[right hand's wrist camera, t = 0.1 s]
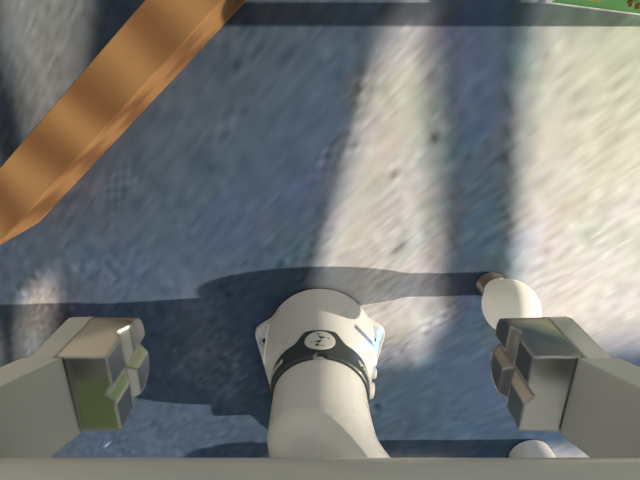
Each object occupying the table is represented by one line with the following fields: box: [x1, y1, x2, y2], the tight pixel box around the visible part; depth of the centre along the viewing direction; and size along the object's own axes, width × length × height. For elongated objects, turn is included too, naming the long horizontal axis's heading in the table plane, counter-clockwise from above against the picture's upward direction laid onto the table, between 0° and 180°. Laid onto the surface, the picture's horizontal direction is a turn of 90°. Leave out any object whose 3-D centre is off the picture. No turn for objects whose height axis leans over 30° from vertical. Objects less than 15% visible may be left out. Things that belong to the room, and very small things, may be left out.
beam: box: [0, 0, 247, 244], centre depth 48 cm, size 63×5×9 cm, turn 132°
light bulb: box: [476, 272, 542, 330], centre depth 58 cm, size 7×7×11 cm
